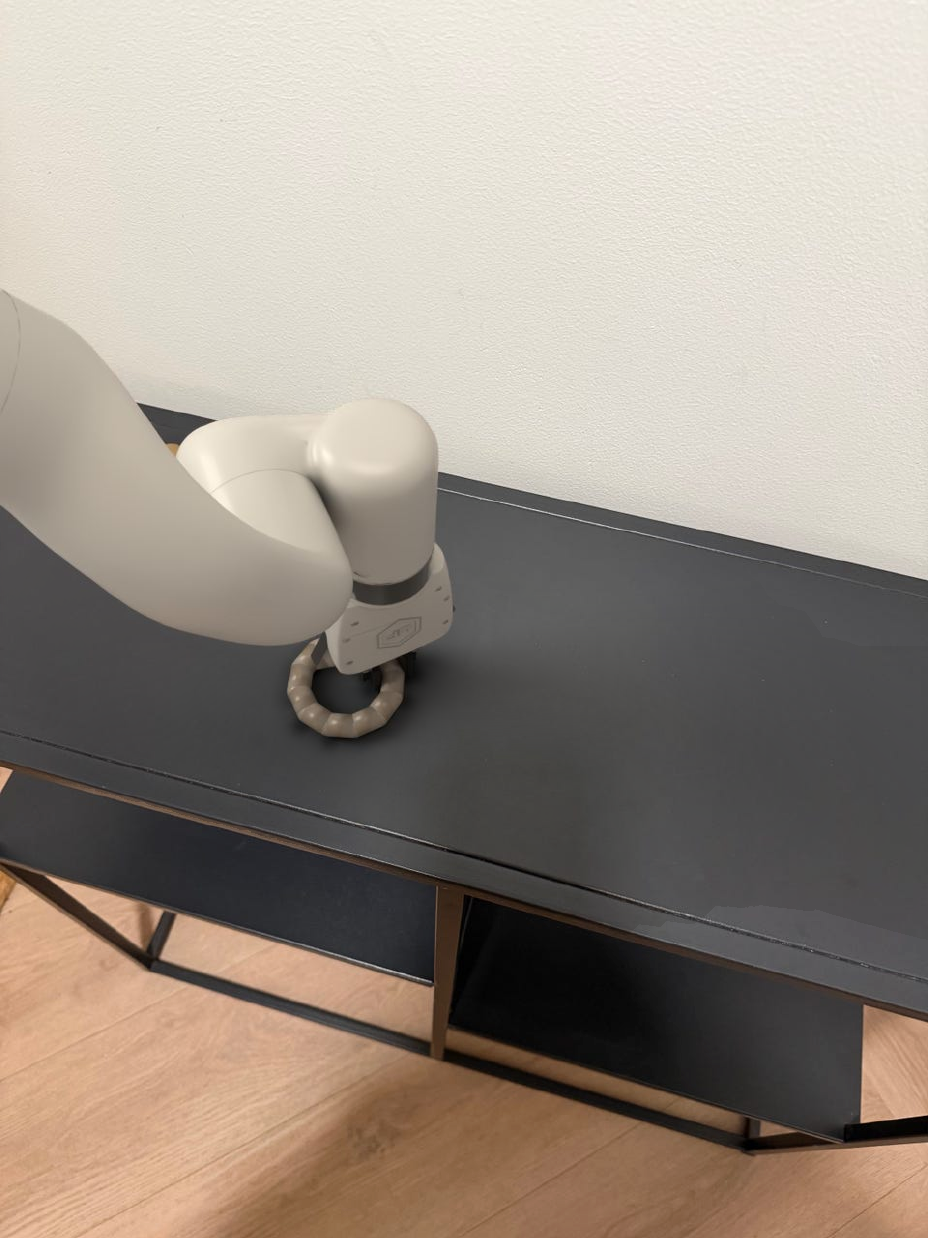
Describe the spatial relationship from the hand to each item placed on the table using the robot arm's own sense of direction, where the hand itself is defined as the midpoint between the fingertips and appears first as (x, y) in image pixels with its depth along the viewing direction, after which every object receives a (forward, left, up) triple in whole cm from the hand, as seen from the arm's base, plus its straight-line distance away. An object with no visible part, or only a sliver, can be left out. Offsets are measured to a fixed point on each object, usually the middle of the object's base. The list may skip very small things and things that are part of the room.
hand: (386, 668), depth 75 cm
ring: (-4, 0, +1) cm, 4 cm away
